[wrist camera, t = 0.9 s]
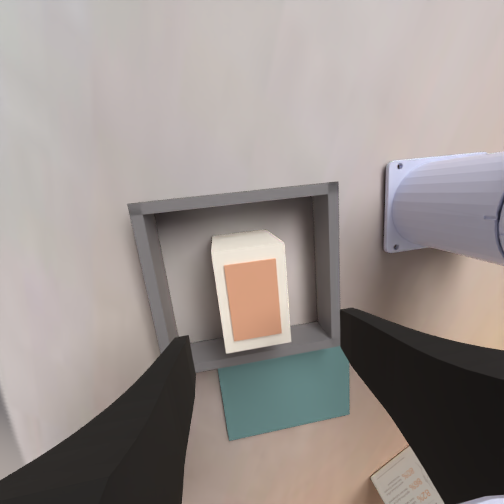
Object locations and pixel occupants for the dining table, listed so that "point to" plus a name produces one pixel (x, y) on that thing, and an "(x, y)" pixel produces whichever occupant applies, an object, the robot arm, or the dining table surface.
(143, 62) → the dining table surface
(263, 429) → the mat
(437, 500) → the small box
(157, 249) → the bin
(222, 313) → the box
